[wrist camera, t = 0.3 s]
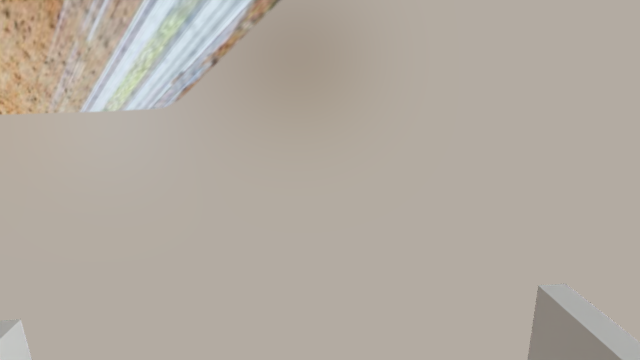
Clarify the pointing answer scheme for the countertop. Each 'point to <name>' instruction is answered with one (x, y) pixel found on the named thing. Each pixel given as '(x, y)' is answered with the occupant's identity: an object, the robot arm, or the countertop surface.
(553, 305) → the robot arm
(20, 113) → the countertop surface
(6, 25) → the countertop surface
